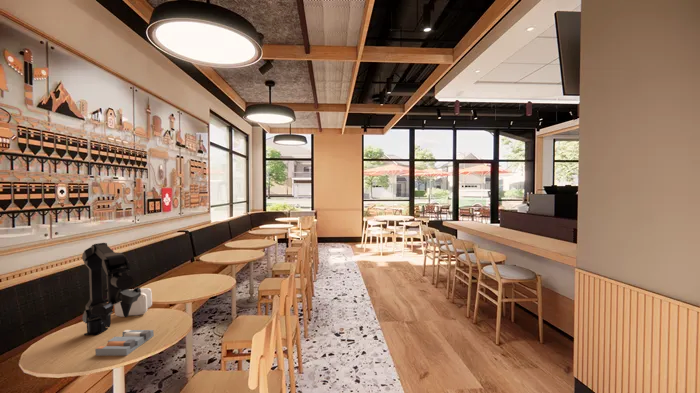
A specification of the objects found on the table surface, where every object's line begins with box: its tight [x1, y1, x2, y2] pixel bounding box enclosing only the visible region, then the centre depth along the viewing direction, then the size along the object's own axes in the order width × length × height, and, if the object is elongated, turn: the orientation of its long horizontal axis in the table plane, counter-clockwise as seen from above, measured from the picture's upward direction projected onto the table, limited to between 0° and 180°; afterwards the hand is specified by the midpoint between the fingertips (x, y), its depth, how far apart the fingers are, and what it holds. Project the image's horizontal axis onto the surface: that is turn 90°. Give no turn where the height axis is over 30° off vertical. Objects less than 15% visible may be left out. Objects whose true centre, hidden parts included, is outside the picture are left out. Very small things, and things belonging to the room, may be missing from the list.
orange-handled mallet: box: [106, 339, 135, 349], centre depth 127 cm, size 10×3×3 cm, turn 88°
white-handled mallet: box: [124, 329, 152, 341], centre depth 135 cm, size 10×3×3 cm, turn 88°
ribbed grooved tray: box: [94, 329, 154, 357], centre depth 131 cm, size 13×16×3 cm
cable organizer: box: [113, 287, 153, 318], centre depth 166 cm, size 15×11×12 cm
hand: (117, 322), depth 127 cm, fingers open, 9 cm apart
